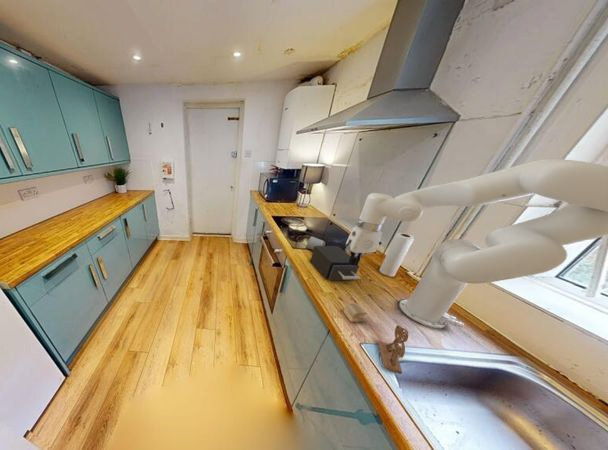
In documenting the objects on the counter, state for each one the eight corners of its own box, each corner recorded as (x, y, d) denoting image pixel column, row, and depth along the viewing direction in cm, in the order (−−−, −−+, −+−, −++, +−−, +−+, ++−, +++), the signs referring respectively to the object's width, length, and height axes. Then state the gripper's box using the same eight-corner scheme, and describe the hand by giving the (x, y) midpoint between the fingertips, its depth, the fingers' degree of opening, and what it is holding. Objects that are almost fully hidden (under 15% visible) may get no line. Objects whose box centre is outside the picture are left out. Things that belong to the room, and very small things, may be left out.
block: (354, 311, 76) (357, 303, 74) (362, 321, 72) (366, 312, 70) (342, 311, 76) (346, 303, 74) (350, 321, 72) (354, 313, 70)
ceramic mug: (320, 255, 112) (324, 243, 108) (305, 250, 116) (308, 238, 113) (324, 248, 119) (327, 236, 116) (309, 243, 124) (312, 232, 121)
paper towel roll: (386, 277, 95) (406, 238, 86) (375, 269, 101) (393, 232, 92) (400, 276, 96) (421, 238, 87) (388, 269, 101) (407, 232, 92)
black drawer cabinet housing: (351, 279, 93) (358, 262, 89) (325, 279, 93) (331, 262, 89) (332, 261, 107) (338, 245, 103) (310, 261, 106) (314, 245, 102)
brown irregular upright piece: (401, 374, 56) (421, 347, 51) (384, 367, 57) (402, 340, 52) (392, 347, 63) (409, 321, 58) (377, 342, 65) (392, 316, 60)
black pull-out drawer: (361, 287, 87) (367, 273, 84) (336, 287, 86) (341, 273, 83) (335, 262, 104) (339, 250, 100) (314, 262, 103) (318, 250, 100)
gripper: (357, 229, 73) (341, 269, 81) (396, 229, 73) (376, 269, 81) (344, 221, 80) (330, 258, 87) (379, 221, 80) (362, 258, 88)
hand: (352, 263), depth 84 cm, fingers closed
